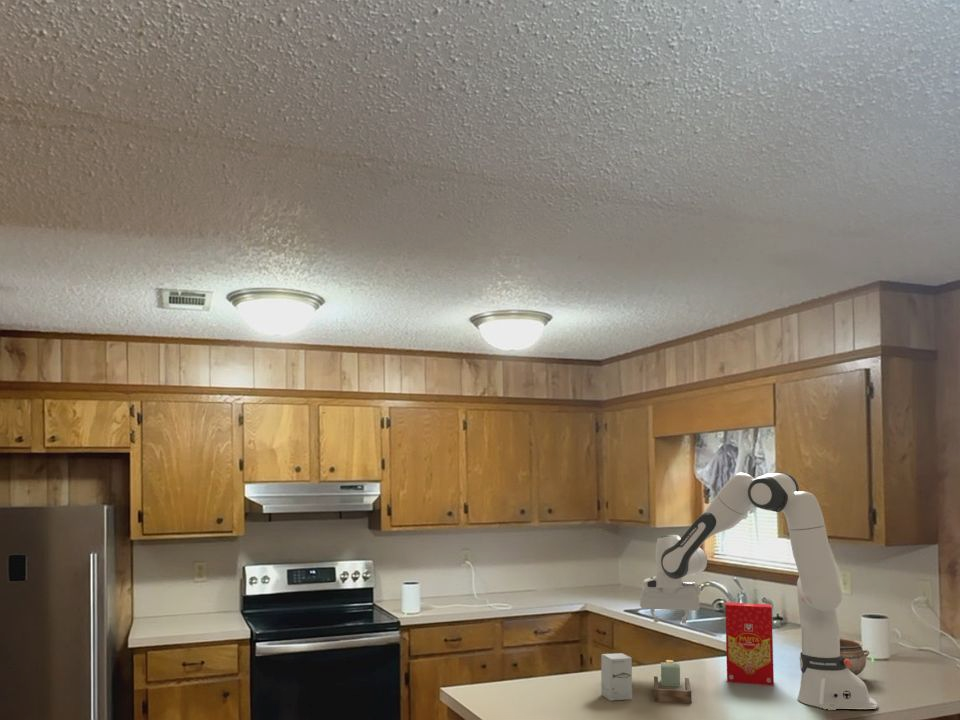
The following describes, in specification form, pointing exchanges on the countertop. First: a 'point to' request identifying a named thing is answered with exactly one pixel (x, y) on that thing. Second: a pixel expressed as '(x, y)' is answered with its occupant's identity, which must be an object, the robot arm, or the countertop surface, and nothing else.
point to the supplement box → (616, 676)
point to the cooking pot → (853, 654)
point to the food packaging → (749, 643)
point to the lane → (672, 693)
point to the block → (670, 673)
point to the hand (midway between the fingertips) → (669, 622)
